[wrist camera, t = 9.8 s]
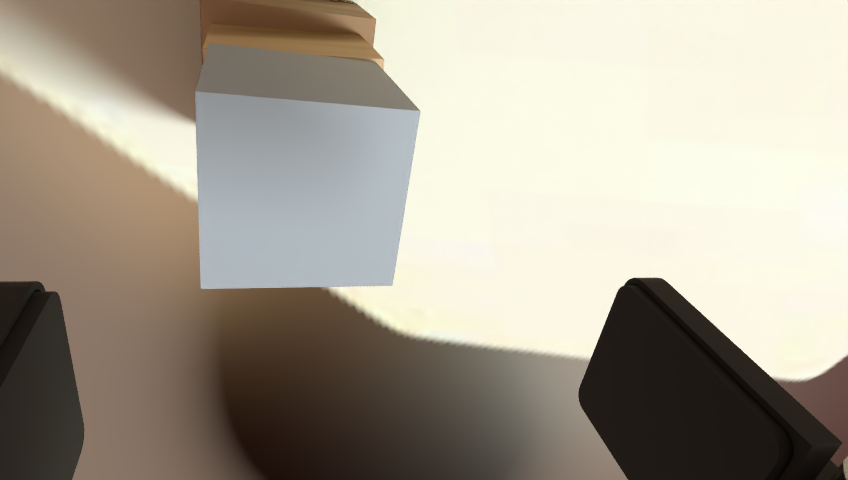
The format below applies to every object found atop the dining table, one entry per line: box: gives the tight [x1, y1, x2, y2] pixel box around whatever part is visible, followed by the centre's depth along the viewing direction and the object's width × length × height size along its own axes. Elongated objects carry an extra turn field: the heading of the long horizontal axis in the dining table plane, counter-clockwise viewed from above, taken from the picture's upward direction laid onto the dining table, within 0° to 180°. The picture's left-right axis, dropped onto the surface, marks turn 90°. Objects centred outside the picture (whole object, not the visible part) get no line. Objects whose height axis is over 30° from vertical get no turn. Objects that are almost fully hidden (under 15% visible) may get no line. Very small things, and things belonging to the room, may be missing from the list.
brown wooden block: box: [200, 0, 376, 66], centre depth 26 cm, size 7×7×5 cm
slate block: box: [195, 43, 420, 289], centre depth 17 cm, size 6×6×6 cm
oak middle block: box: [203, 24, 384, 69], centre depth 22 cm, size 6×6×5 cm
